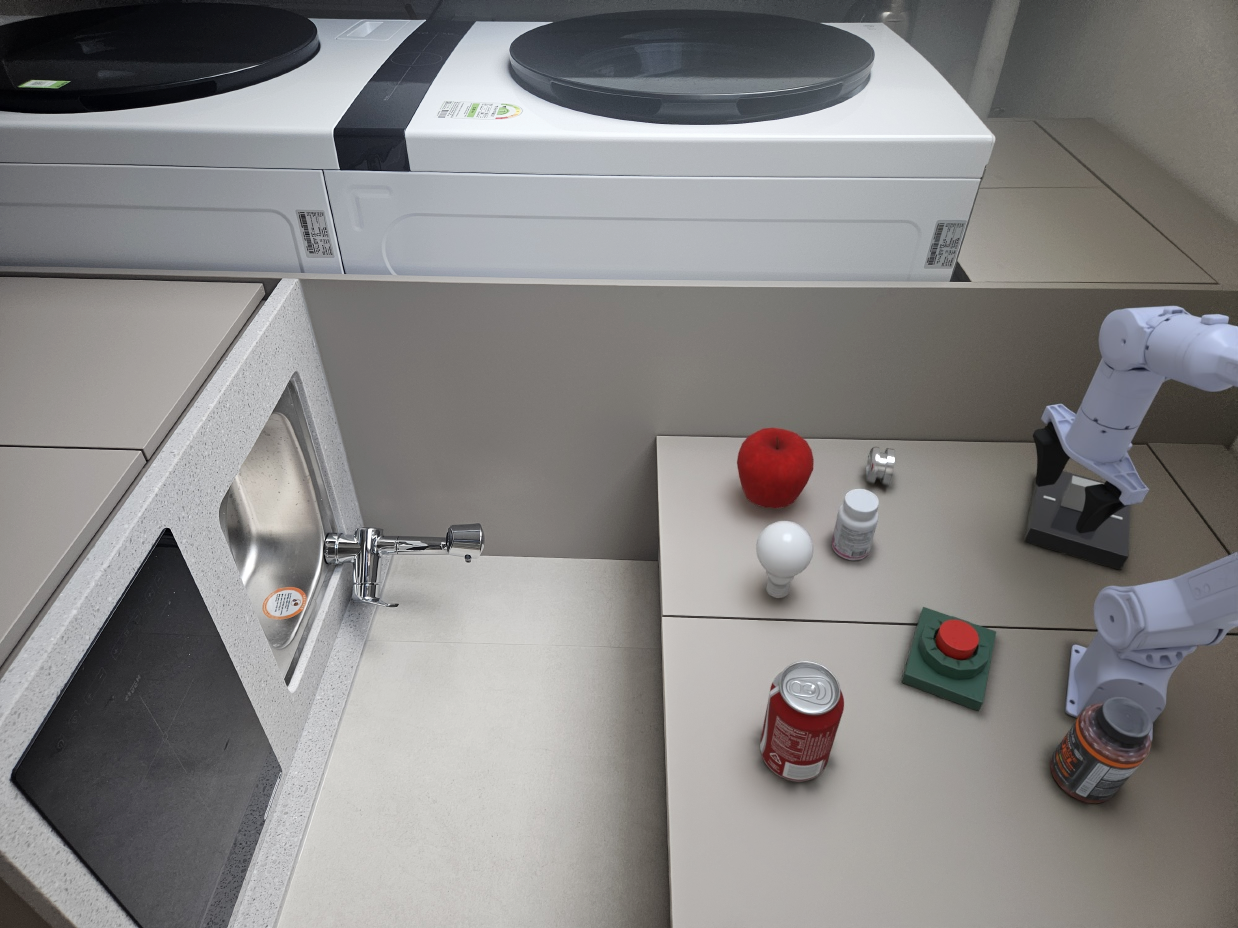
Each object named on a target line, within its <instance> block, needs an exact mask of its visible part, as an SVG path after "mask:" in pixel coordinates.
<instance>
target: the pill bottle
mask: <svg viewBox="0 0 1238 928" xmlns="http://www.w3.org/2000/svg"><path fill="white" fill-rule="evenodd" d="M879 504H880V500H879V498H878V496H877V495H876V494H875V493H874V492H872V491H870V490H868V489H864V488H854V489H850V490H849V491H847V493H846V494H845V495H844V500H843V503H842V504H841V505H840V506H839V509H838V511H837V516H836V521H835V525H834V529H833V533H832V537H831V549H832V550H833V552H835V554H837V556H839V557H841V558H842V559H845V560H849V561H861V560H863V559H865V558H866V557H867V556H868V555H869V553H870V552H871V547H872V544H873V540H874V537H875V536H874V535H875V534H876V533H875V532H876V529H877V525H878V522H879V512H878V510H879Z"/></svg>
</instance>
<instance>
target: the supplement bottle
mask: <svg viewBox="0 0 1238 928" xmlns="http://www.w3.org/2000/svg"><path fill="white" fill-rule="evenodd" d="M1151 729H1152V721H1151V718H1150V716H1149V714H1148V713H1147V712H1146V710H1145V709H1144V708H1143V707H1141V706H1140V705H1139V704H1137V703H1136V702H1134V701H1132V700H1130V699H1127V698H1124V697H1112V698H1109V699H1107V700H1106V701H1105V702H1104V703H1097V704H1093V705H1090V706H1088V707H1087V708H1086V709H1084V710H1083V712H1082V713H1081V714H1080V716H1079V717H1078V718H1076V720H1075V721H1074V722H1073V723H1072V725H1071V727H1070V728H1069V729H1068V731H1067V732H1066V734H1065V735H1064V737H1063V738H1062V740H1061V741H1060V742H1059V744H1058V745H1057V746H1056V747H1055V750H1054V751H1053V753H1052V755H1051V758H1050V771H1051V773H1052V777H1053V778H1054V781H1055V782H1056V783H1057V785H1058V786H1059V787H1061V789H1062V790H1063V791H1064V792H1065V793H1067V794H1068V795H1070V796H1071V797H1072V798H1075V799H1076V800H1078V801H1081V802H1084V803H1087V804H1101V803H1104V802H1106V801H1108V800H1110V799H1112V798H1113V796H1115V794H1116V793H1117V792H1118V791H1119V790H1120V789H1121V787H1123V785H1124V784H1125V783H1126V782H1127V781H1128V780H1129V778H1130V777H1131V776H1132V775H1133V774H1134V773H1135V771H1137V769H1138V768H1139V767H1140V766H1141V764H1142V763H1143V762H1144V761H1145V759H1146V758H1147V757H1148V755H1149V754H1150V751H1151V747H1152V741H1151V739H1150V735H1149V732H1150V731H1151Z"/></svg>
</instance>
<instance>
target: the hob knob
mask: <svg viewBox="0 0 1238 928" xmlns="http://www.w3.org/2000/svg"><path fill="white" fill-rule="evenodd" d="M1097 484H1103V483H1099V482H1095V481H1092V480H1088V479H1084V478H1080V477H1077V476H1072V478H1071V480H1070V482H1069V484H1068V486H1067V488H1066V490H1065V492H1064V494H1063V496H1062V499H1061V506H1064V507H1067V508H1071V509H1074V510H1078V511H1081V512H1082V511H1083V508H1084V503H1085V487H1086V486H1091V485H1097Z"/></svg>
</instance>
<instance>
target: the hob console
mask: <svg viewBox="0 0 1238 928" xmlns="http://www.w3.org/2000/svg"><path fill="white" fill-rule="evenodd" d="M1072 476H1077V477H1080V478H1084V479H1088V480H1092V481H1095V482H1099V483H1103V484H1105V482H1106V481H1101V480H1098V479H1094V478H1090V477H1087V476H1083V475H1080V474H1076V473H1071V472H1067V471H1065V470H1063V472H1062V473H1061V475H1060V477H1059V479H1058V480H1057V481H1056V483H1055V484H1053V485H1047V486H1041V487H1038V486H1037V484H1036V476H1035V477H1034V482H1033V488H1032V493H1031V498H1030V499H1031V500H1030V505H1029V511H1028V517H1027V523H1026V529H1025V534H1024V542H1026V543H1028V544H1032V545H1036V546H1038V547H1042V548H1045V549H1049V550H1051V551H1055V552H1058V553H1061V554H1065V555H1068V556H1072V557H1075V558H1078V559H1081V560H1085V561H1088V562H1092V563H1095V564H1098V565H1102V566H1105V567H1108V568H1111V569H1115V570H1119V571H1121V570H1122V568H1123V566H1124V565H1125V563H1126V562H1127V560H1128V558H1129V552H1130V551H1129V550H1130V549H1129V548H1130V547H1129V546H1130V527H1131V526H1130V524H1131V505H1128V506H1126V507H1124V508H1122V509H1121V510H1119V511H1117V512H1116V513H1114V514H1113V515H1112V516H1110V517H1109V518H1108V519H1107V520H1106V521H1105V522H1103V523H1102V524H1101V525H1100V526H1099V527H1098V528H1097V529H1096V530H1095V531H1092V532H1086V533H1079V532H1078V531H1077V530H1076V525H1077V522H1078V519H1079V517H1080V515H1081V513H1082V512H1081V511H1078V510H1074V509H1071V508H1067V507H1064V506H1061V499H1062V496H1063V494H1064V492H1065V490H1066V488H1067V486H1068V484H1069V482H1070V480H1071V478H1072Z"/></svg>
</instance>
